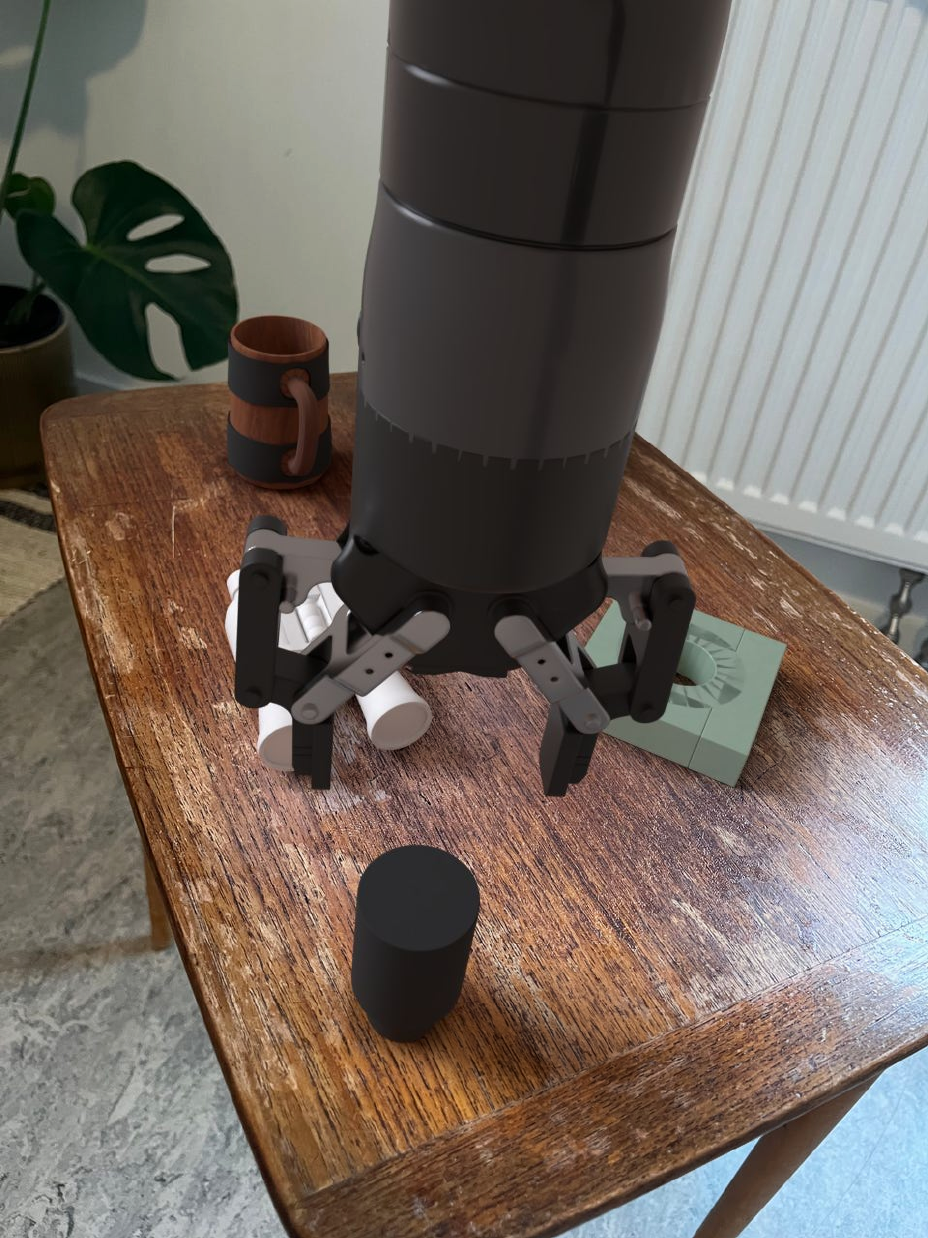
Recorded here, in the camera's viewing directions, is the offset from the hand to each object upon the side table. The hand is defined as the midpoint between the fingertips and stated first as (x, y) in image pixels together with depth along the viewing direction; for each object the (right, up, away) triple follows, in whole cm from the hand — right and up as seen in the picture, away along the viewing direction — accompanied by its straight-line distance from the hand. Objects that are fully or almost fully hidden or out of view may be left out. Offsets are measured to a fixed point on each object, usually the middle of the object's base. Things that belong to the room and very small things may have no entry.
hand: (438, 775), depth 36 cm
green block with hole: (+15, +1, +30) cm, 33 cm away
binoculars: (-9, +2, +27) cm, 29 cm away
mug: (-14, +18, +45) cm, 50 cm away
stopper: (-2, -13, +11) cm, 17 cm away
